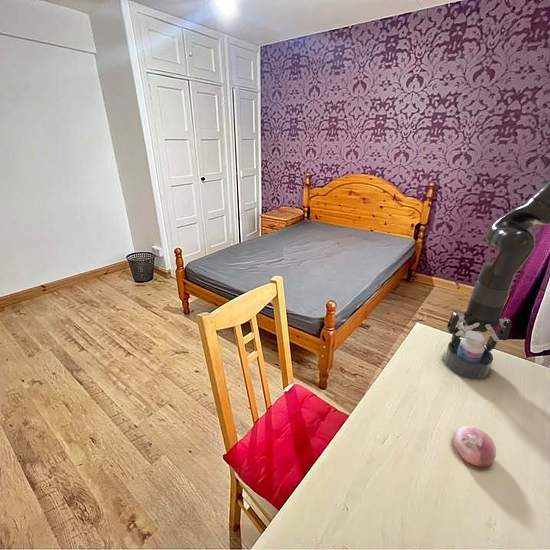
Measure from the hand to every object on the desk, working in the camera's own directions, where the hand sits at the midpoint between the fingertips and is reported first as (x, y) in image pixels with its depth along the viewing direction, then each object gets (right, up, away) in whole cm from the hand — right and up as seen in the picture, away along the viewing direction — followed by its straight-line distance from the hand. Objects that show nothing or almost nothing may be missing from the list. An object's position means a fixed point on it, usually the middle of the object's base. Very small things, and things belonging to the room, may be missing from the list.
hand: (471, 346), depth 87 cm
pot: (0, -7, +3) cm, 8 cm away
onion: (-13, -19, -20) cm, 30 cm away
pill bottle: (0, -7, +3) cm, 8 cm away
